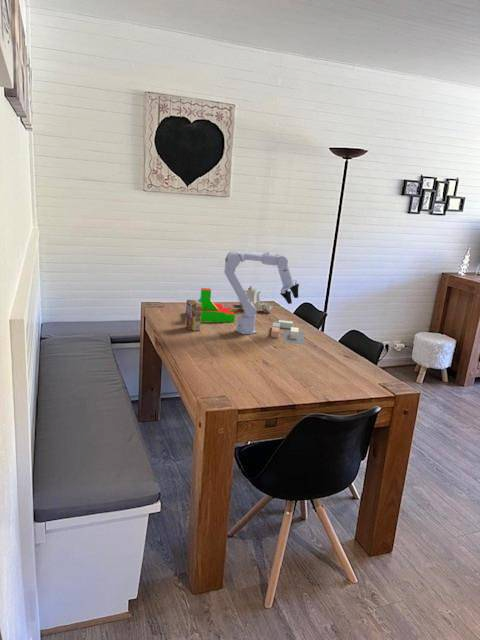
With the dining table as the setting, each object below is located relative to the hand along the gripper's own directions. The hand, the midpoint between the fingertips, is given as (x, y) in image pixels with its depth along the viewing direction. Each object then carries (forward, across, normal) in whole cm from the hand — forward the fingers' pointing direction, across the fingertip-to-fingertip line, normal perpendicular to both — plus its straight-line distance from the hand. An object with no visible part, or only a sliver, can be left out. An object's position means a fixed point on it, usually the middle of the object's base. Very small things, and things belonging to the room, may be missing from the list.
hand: (293, 300), depth 255 cm
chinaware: (+12, +22, +47) cm, 54 cm away
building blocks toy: (+1, -12, +50) cm, 52 cm away
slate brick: (+14, -7, +13) cm, 20 cm away
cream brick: (+17, -10, 0) cm, 19 cm away
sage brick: (+17, +2, +12) cm, 21 cm away
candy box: (-4, -37, +42) cm, 56 cm away
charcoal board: (+17, -10, 0) cm, 20 cm away
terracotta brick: (+14, -16, +8) cm, 22 cm away
